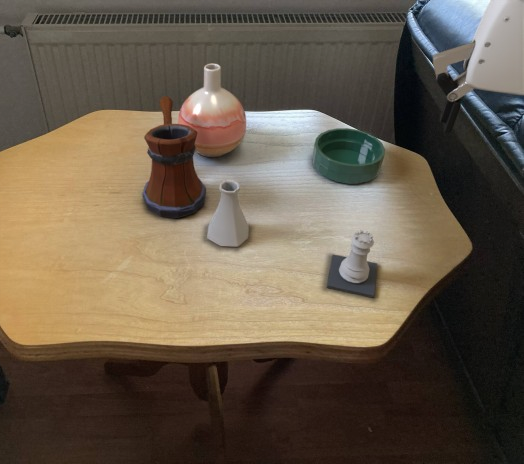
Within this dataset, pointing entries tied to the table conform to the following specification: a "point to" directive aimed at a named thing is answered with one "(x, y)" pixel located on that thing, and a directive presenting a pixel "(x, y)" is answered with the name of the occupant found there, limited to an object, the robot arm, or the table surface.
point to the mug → (172, 168)
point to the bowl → (348, 155)
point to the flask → (228, 218)
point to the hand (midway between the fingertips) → (489, 133)
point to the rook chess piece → (357, 258)
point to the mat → (341, 284)
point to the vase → (214, 116)
